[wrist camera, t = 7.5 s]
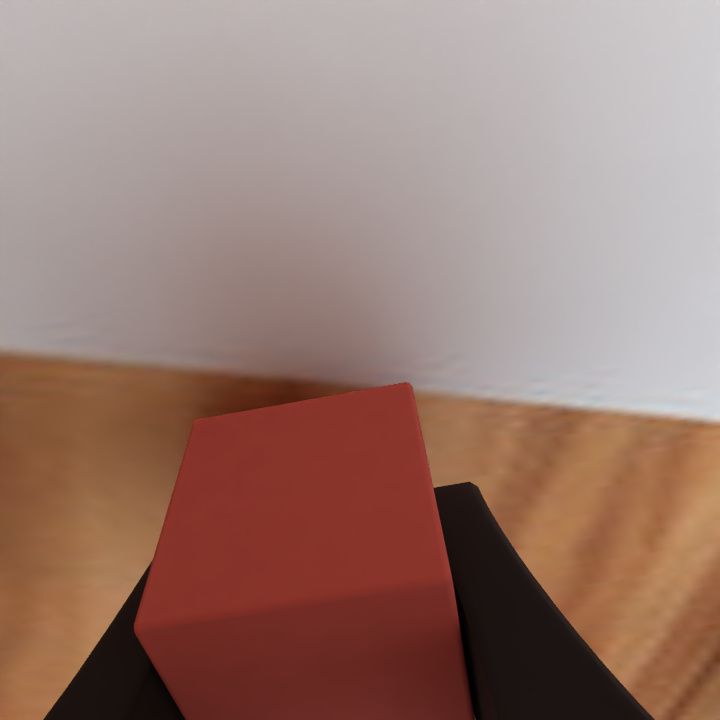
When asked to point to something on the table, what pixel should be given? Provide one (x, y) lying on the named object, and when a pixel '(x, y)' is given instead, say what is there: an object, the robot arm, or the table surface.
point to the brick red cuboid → (307, 569)
